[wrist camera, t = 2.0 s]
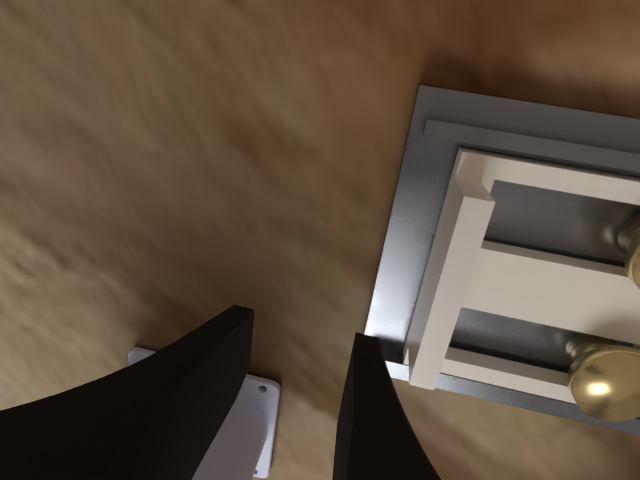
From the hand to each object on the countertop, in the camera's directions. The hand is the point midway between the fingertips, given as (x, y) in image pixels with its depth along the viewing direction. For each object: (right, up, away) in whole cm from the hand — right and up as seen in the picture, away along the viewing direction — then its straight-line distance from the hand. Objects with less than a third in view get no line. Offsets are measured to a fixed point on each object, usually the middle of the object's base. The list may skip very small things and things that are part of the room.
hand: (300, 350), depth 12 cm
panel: (+10, +1, +6) cm, 12 cm away
